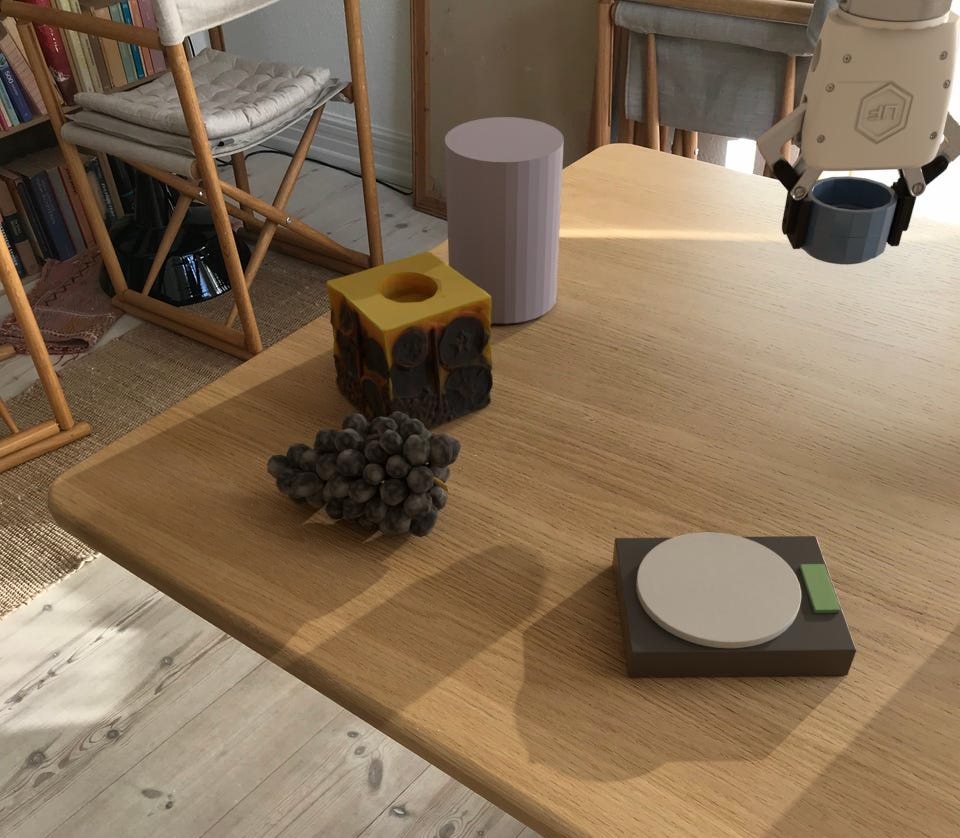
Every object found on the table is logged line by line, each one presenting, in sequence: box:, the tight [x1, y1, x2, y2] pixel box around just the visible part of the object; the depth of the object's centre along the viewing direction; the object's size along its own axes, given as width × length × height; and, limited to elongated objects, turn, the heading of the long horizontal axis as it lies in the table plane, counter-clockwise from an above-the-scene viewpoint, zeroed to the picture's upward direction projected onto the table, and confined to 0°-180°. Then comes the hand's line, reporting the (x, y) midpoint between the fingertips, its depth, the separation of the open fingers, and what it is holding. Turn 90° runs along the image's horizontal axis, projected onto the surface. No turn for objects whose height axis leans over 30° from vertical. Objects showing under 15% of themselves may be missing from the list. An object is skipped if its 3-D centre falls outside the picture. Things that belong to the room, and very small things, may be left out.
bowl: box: [800, 176, 898, 266], centre depth 84 cm, size 7×7×4 cm
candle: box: [325, 251, 494, 430], centre depth 85 cm, size 10×10×10 cm
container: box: [444, 116, 565, 326], centre depth 95 cm, size 10×10×15 cm
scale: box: [611, 531, 857, 678], centre depth 69 cm, size 14×11×3 cm
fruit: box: [266, 411, 462, 538], centre depth 76 cm, size 9×8×15 cm
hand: (841, 239), depth 85 cm, fingers closed on bowl, 7 cm apart
